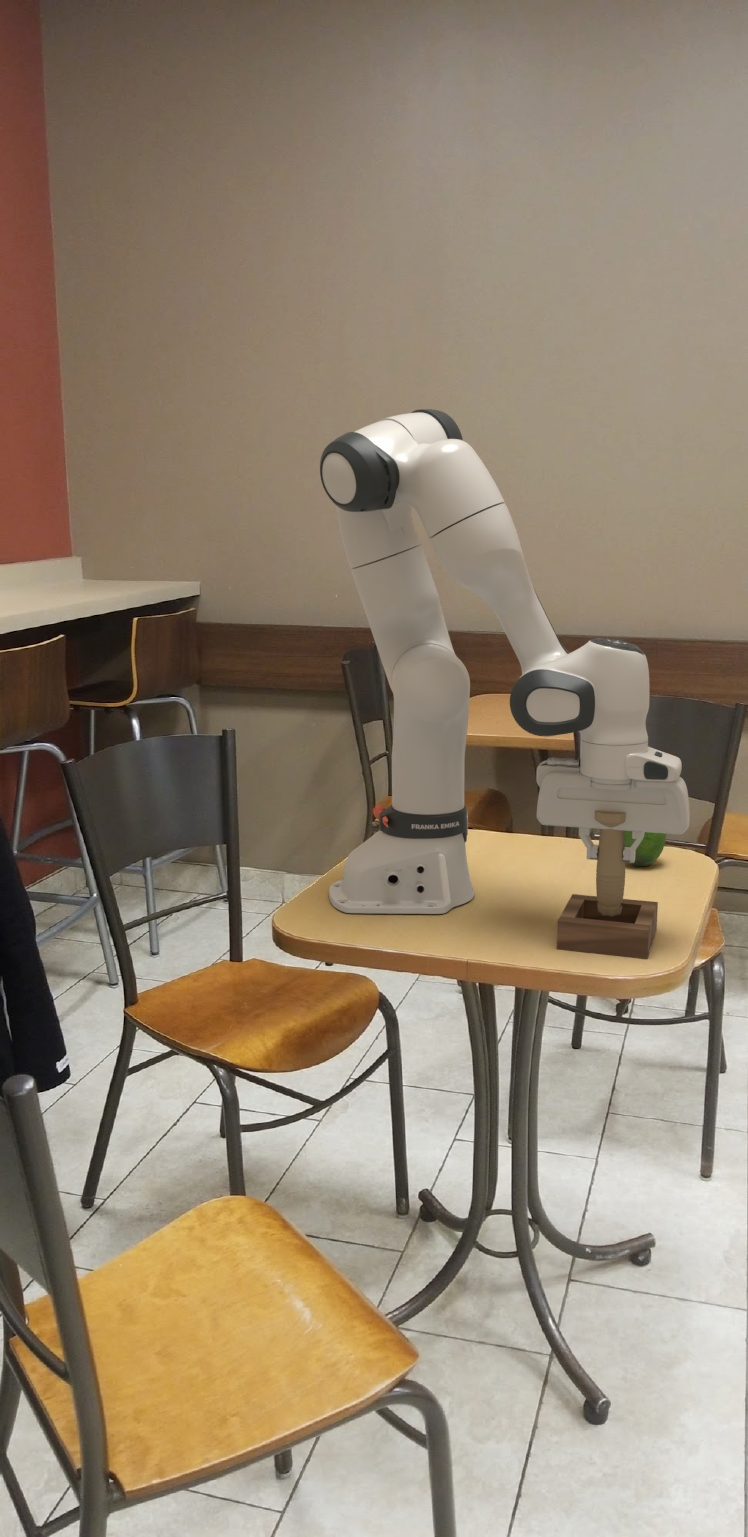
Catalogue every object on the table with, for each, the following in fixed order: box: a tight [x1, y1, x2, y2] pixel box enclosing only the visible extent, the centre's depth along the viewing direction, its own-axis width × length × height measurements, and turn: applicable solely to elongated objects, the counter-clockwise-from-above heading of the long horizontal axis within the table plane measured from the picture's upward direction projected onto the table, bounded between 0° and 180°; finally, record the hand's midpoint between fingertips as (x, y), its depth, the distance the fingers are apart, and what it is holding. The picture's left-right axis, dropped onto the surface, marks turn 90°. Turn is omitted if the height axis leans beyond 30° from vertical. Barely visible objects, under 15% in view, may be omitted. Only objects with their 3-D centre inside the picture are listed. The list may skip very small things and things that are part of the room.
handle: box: [595, 810, 626, 916], centre depth 157 cm, size 5×6×15 cm
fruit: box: [624, 831, 666, 867], centre depth 192 cm, size 8×8×12 cm
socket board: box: [556, 893, 659, 960], centre depth 159 cm, size 12×12×4 cm
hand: (610, 860), depth 157 cm, fingers closed on handle, 3 cm apart
